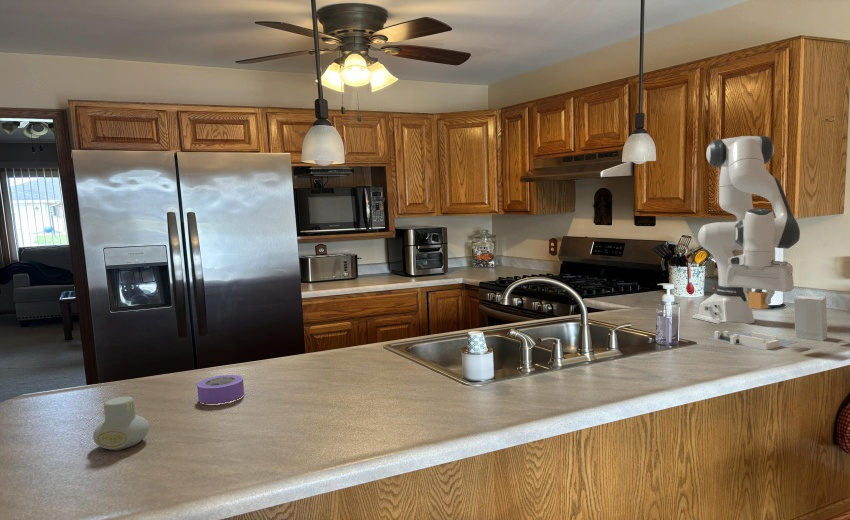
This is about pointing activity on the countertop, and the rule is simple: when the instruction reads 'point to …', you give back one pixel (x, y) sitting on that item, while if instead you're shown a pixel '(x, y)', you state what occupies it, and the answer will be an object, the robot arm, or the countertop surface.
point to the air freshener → (120, 425)
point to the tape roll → (220, 389)
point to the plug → (757, 299)
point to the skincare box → (810, 317)
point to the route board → (750, 340)
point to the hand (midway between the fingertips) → (758, 302)
